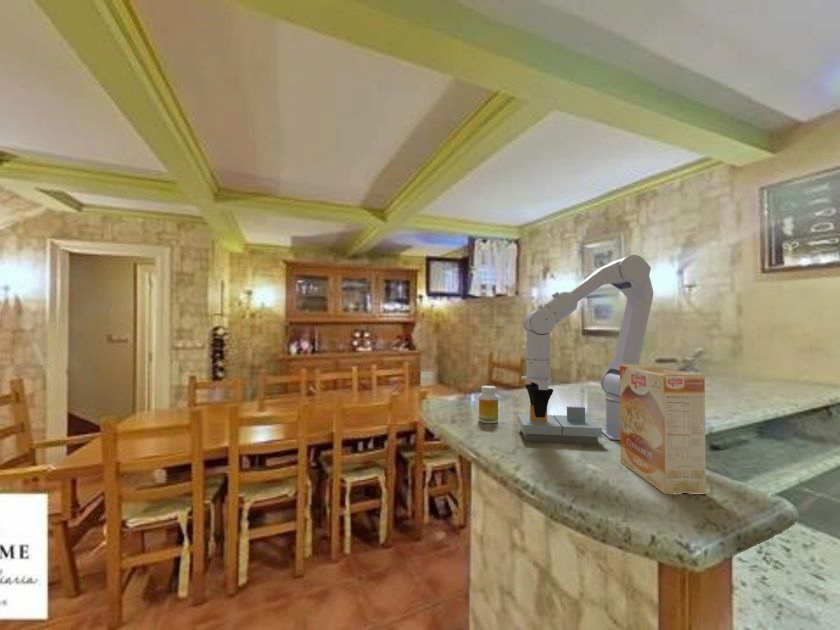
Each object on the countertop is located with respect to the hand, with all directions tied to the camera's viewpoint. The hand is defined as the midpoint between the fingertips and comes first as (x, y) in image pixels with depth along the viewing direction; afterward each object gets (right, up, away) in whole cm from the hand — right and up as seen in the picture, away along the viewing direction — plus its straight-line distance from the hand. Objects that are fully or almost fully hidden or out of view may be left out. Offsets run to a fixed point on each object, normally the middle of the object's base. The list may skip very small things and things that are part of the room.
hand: (538, 414), depth 95 cm
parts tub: (+4, -5, -1) cm, 7 cm away
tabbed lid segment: (0, -3, 0) cm, 3 cm away
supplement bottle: (-10, -6, +14) cm, 18 cm away
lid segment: (+9, -3, -1) cm, 9 cm away
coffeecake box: (+14, -5, -25) cm, 29 cm away
